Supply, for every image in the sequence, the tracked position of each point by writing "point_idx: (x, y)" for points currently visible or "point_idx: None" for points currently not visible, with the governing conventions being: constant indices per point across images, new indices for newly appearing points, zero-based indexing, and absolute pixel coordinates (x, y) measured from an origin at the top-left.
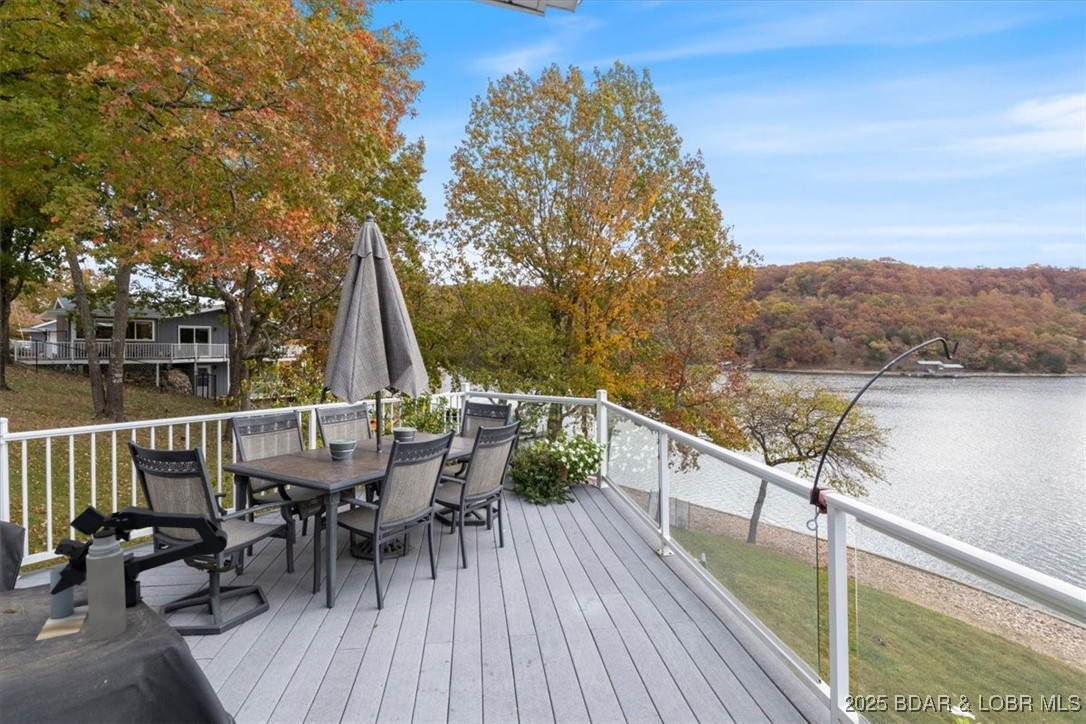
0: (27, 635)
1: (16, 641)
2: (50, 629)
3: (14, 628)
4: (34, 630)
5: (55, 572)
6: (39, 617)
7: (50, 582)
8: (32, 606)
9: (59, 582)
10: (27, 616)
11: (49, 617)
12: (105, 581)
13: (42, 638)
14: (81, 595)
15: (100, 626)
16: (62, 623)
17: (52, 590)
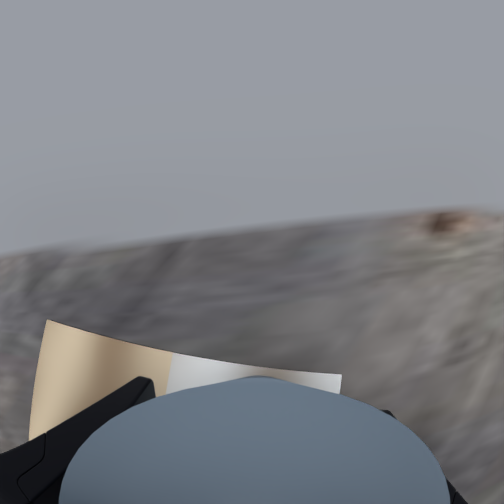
0: (130, 296)
1: (103, 265)
2: (107, 373)
3: (250, 245)
4: (164, 318)
5: (154, 474)
6: (320, 327)
7: (225, 381)
8: (461, 281)
9: (27, 451)
10: (365, 277)
11: (267, 371)
12: None
13: (47, 341)
14: (474, 449)
15: None
16: None
17: (113, 393)
